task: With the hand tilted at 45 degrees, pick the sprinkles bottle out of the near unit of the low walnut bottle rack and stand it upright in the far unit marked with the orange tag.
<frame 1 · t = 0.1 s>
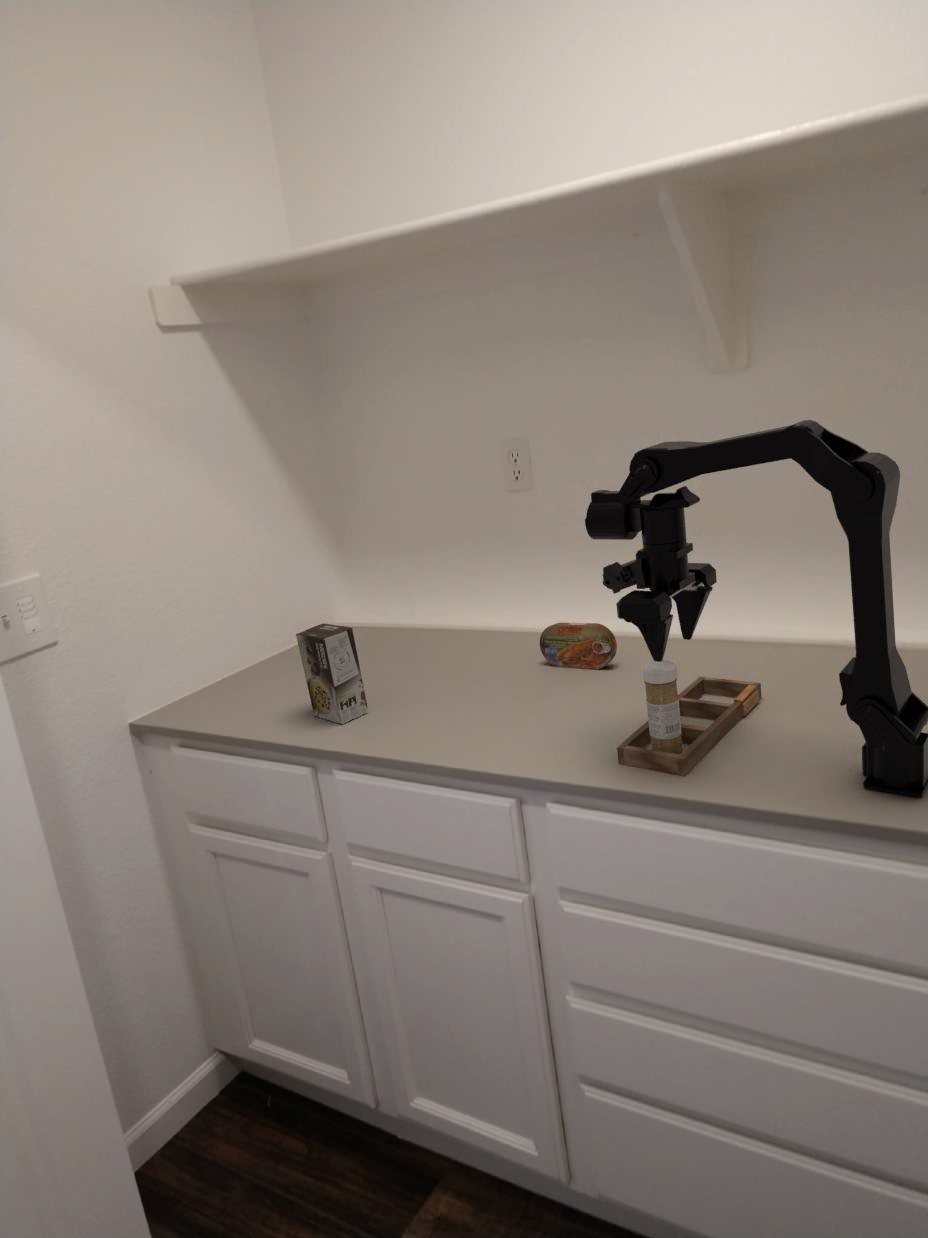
hand: (673, 649, 117), 15 cm above the worktop, tool pointing down, fingers open, 9 cm apart
sprinkles bottle: (667, 755, 120), resting in rack
coffee box: (341, 715, 154), on the worktop
tin: (580, 666, 160), on the worktop
rack: (694, 728, 126), on the worktop
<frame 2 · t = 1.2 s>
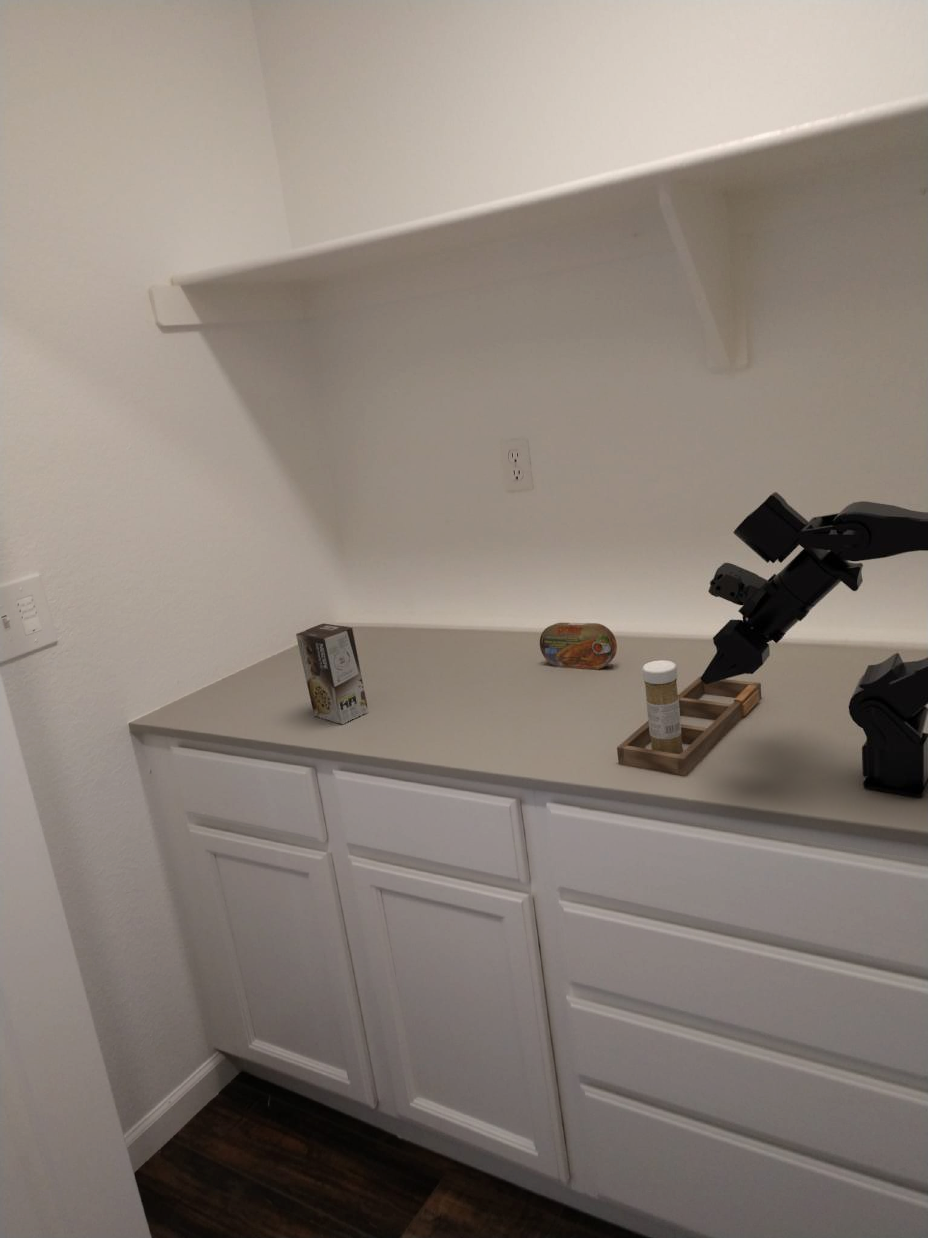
hand: (714, 668, 112), 13 cm above the worktop, tool tilted 45°, fingers open, 9 cm apart
nothing on the worktop moved.
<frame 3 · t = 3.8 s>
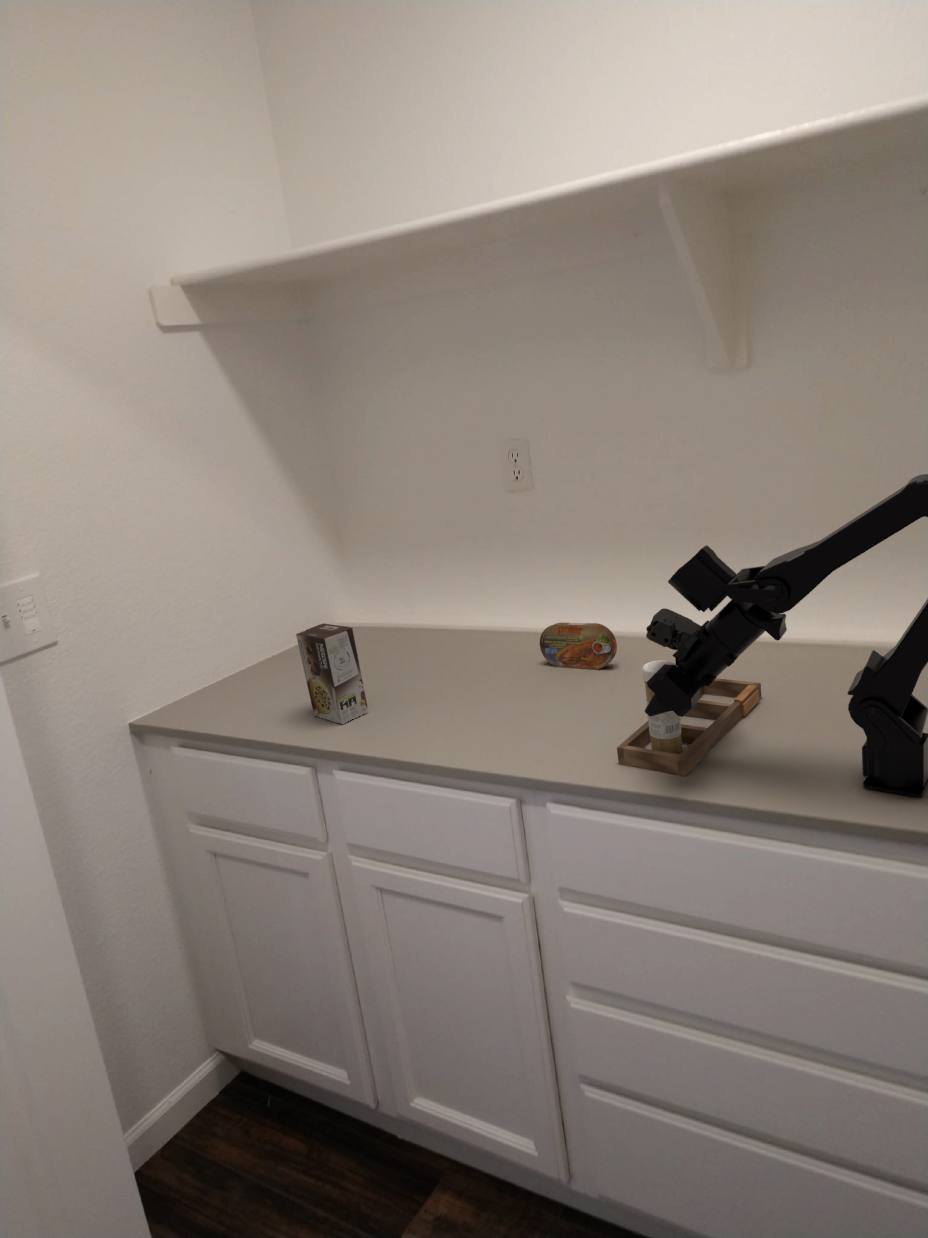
hand: (653, 707, 119), 7 cm above the worktop, tool tilted 45°, fingers closed on sprinkles bottle, 4 cm apart
sprinkles bottle: (667, 755, 120), resting in rack, touching gripper
everything else where it was.
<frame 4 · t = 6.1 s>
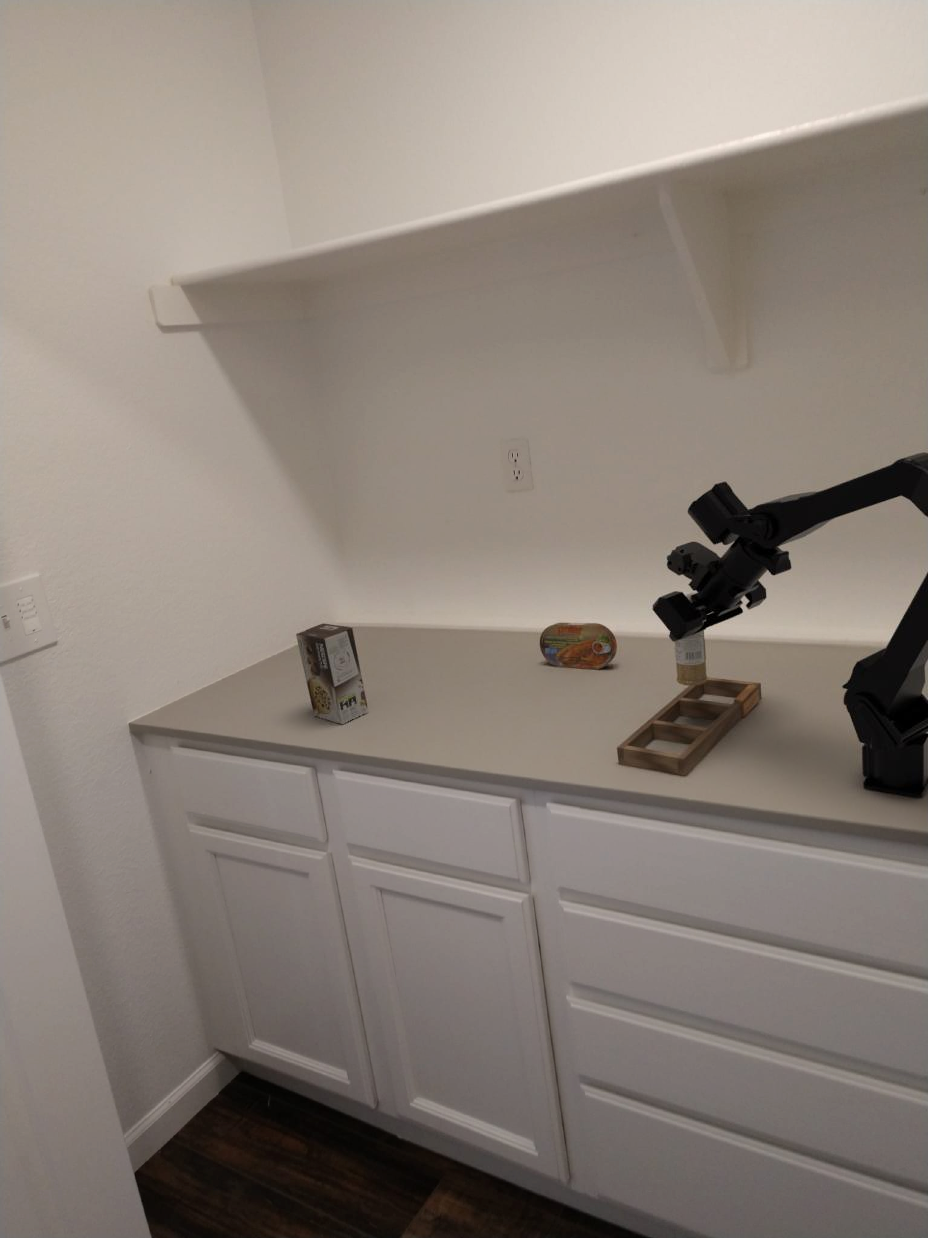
hand: (682, 634, 127), 13 cm above the worktop, tool tilted 45°, fingers closed on sprinkles bottle, 4 cm apart
sprinkles bottle: (691, 682, 127), point 6 cm above the worktop, touching gripper
everything else where it was.
when the fingers open (8 cm above the worktop, at t = 8.1 s): sprinkles bottle drops 1 cm, resting in rack.
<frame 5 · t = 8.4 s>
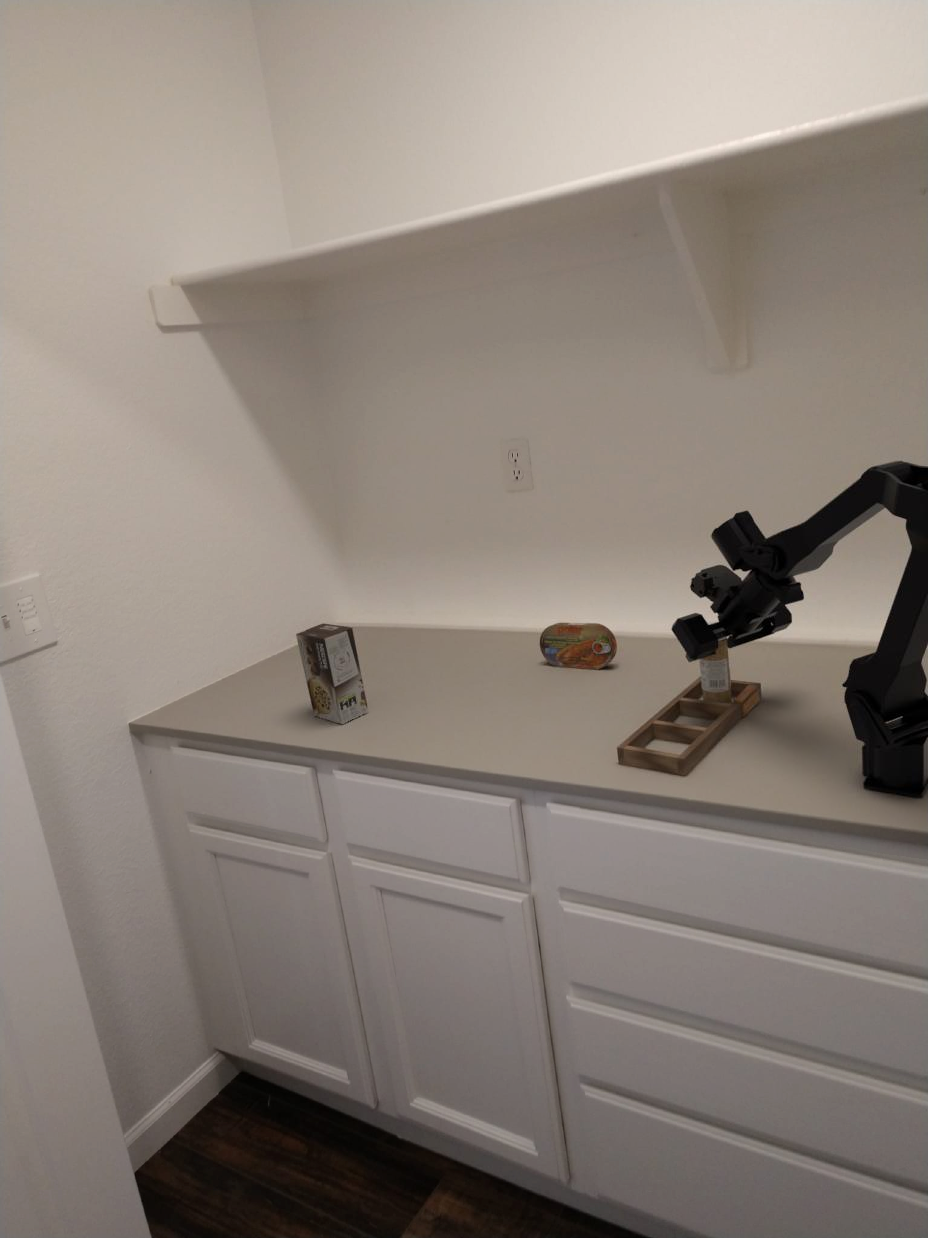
hand: (708, 652, 132), 9 cm above the worktop, tool tilted 45°, fingers open, 8 cm apart
sprinkles bottle: (717, 708, 132), resting in rack
everything else where it was.
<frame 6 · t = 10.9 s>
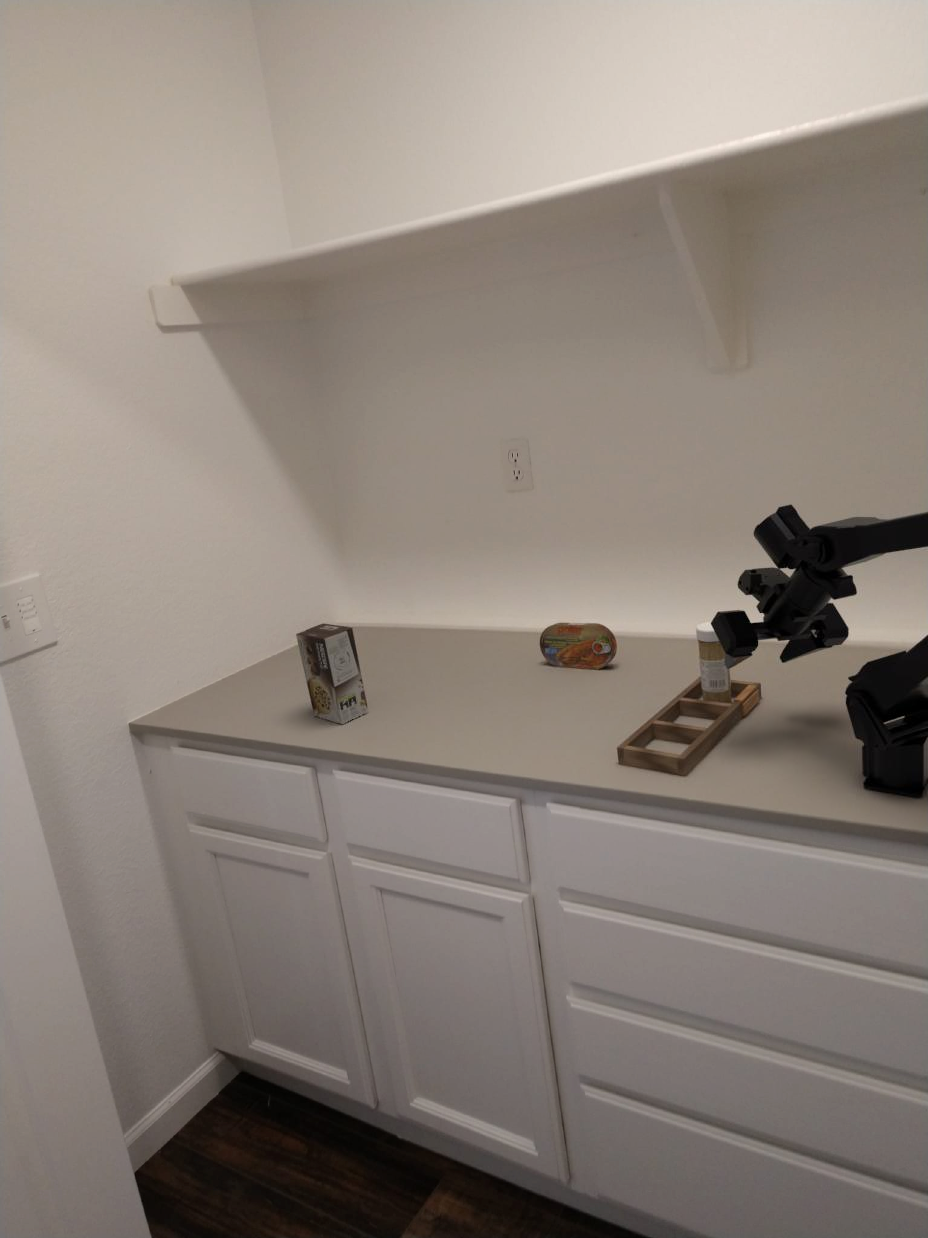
hand: (754, 663, 123), 9 cm above the worktop, tool tilted 40°, fingers open, 9 cm apart
nothing on the worktop moved.
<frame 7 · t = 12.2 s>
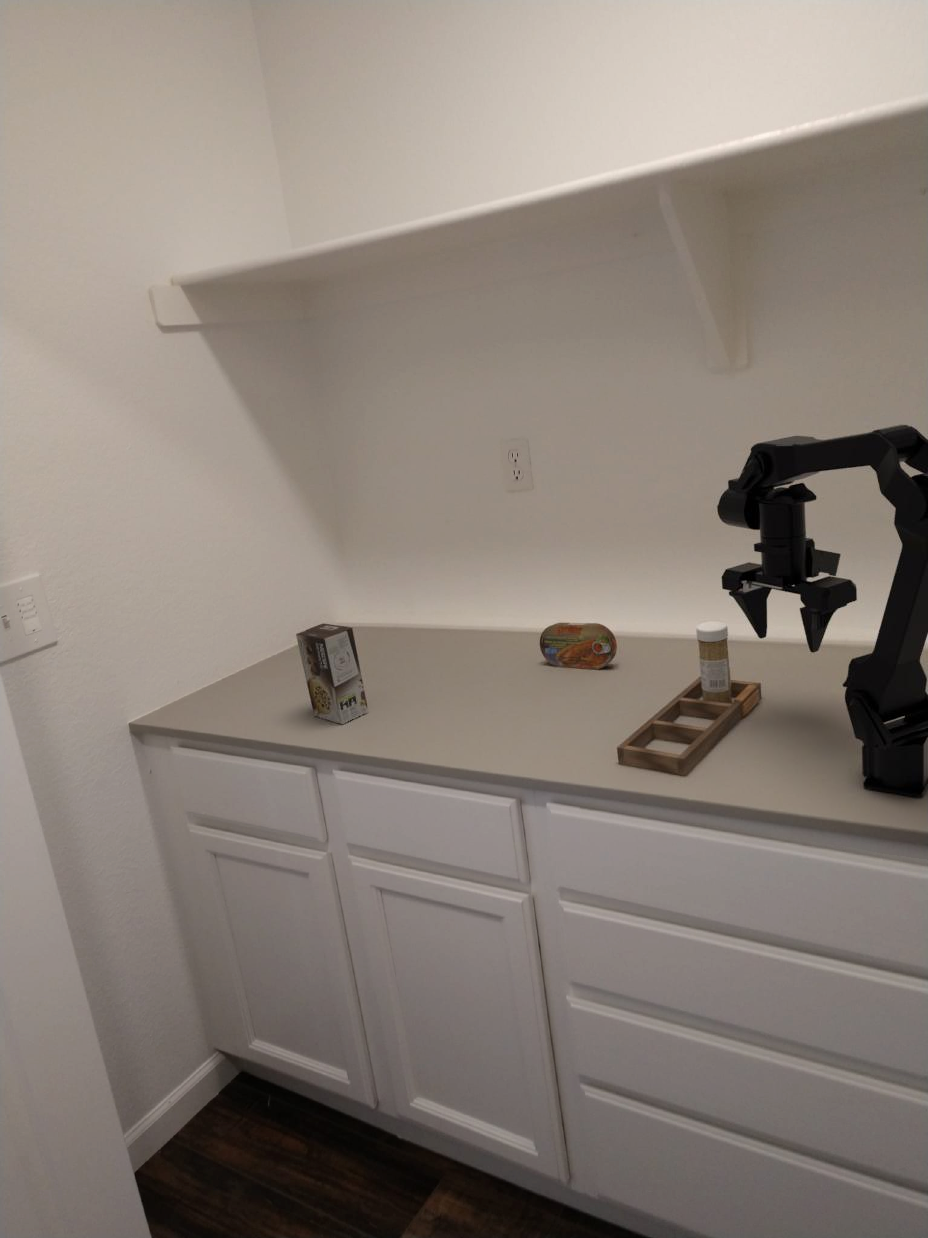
hand: (787, 644, 117), 13 cm above the worktop, tool pointing down, fingers open, 9 cm apart
nothing on the worktop moved.
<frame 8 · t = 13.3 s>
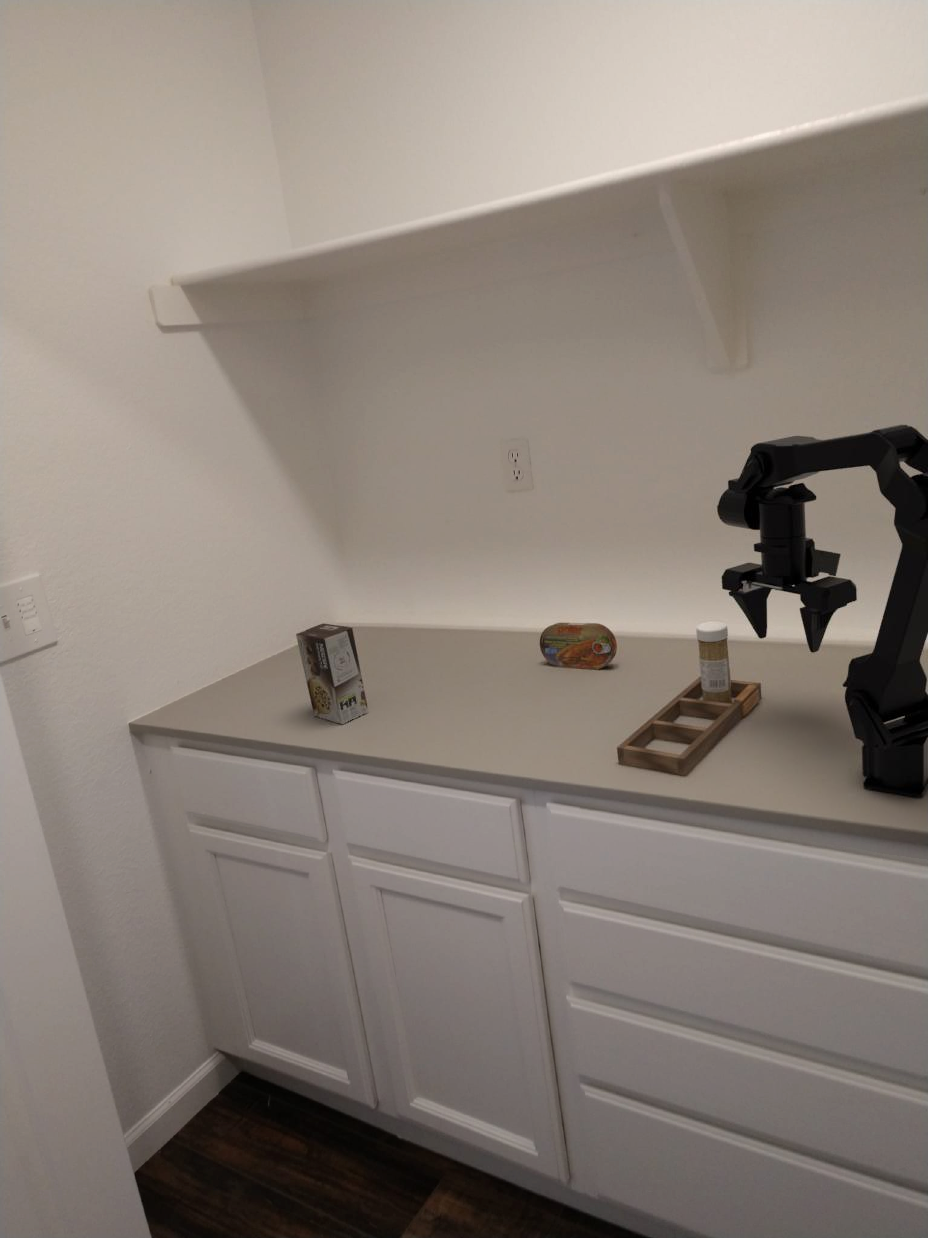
hand: (787, 644, 117), 13 cm above the worktop, tool pointing down, fingers open, 9 cm apart
nothing on the worktop moved.
at the end: sprinkles bottle 0.4 cm from the target spot on the rack, point 0.0 cm above the rack's base; sprinkles bottle tilted 0°; the gripper is holding nothing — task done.
